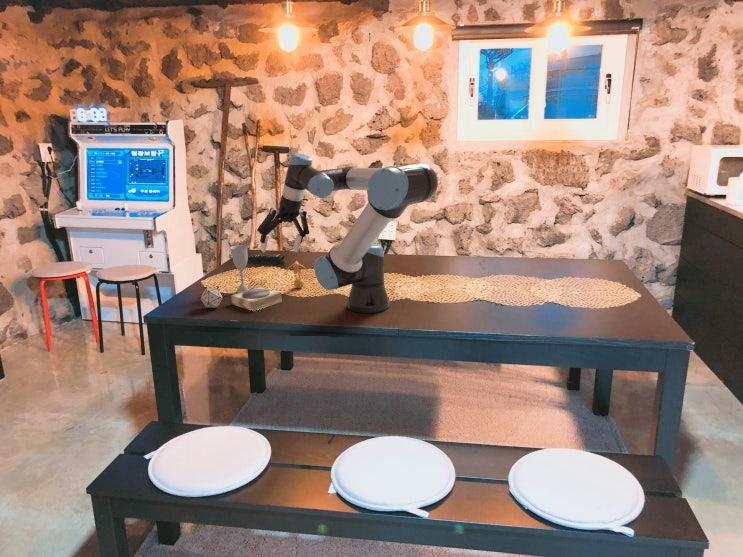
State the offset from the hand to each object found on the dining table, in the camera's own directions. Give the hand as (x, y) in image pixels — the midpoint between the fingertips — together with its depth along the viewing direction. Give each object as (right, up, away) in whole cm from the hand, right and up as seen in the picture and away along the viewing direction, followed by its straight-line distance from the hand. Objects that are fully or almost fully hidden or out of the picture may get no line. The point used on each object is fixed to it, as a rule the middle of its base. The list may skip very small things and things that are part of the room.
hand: (279, 250), depth 218 cm
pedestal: (-9, -19, +3) cm, 21 cm away
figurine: (+5, -15, +18) cm, 24 cm away
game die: (-24, -21, -1) cm, 32 cm away
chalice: (-17, -15, +18) cm, 29 cm away
